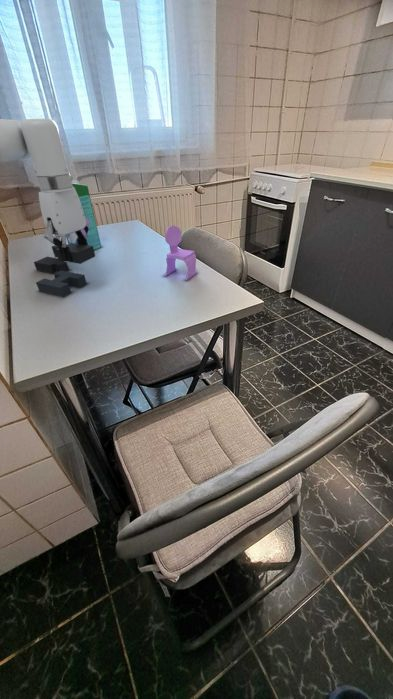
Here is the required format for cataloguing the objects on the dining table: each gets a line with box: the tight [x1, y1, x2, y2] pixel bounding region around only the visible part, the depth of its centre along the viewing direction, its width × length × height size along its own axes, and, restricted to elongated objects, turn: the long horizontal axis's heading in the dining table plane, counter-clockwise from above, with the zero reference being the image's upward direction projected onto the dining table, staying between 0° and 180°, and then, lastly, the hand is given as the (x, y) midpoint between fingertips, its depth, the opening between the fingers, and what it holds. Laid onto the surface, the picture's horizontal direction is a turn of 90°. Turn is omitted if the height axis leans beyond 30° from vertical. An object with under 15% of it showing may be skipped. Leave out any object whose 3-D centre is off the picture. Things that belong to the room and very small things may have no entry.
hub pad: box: [35, 270, 88, 298], centre depth 91 cm, size 10×10×3 cm
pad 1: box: [33, 256, 70, 274], centre depth 103 cm, size 11×6×3 cm, turn 65°
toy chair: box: [164, 225, 197, 281], centre depth 92 cm, size 8×9×15 cm
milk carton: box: [66, 179, 102, 250], centre depth 114 cm, size 9×9×25 cm
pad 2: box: [51, 243, 96, 265], centre depth 82 cm, size 11×6×3 cm, turn 65°
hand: (76, 256), depth 82 cm, fingers closed on pad 2, 6 cm apart
